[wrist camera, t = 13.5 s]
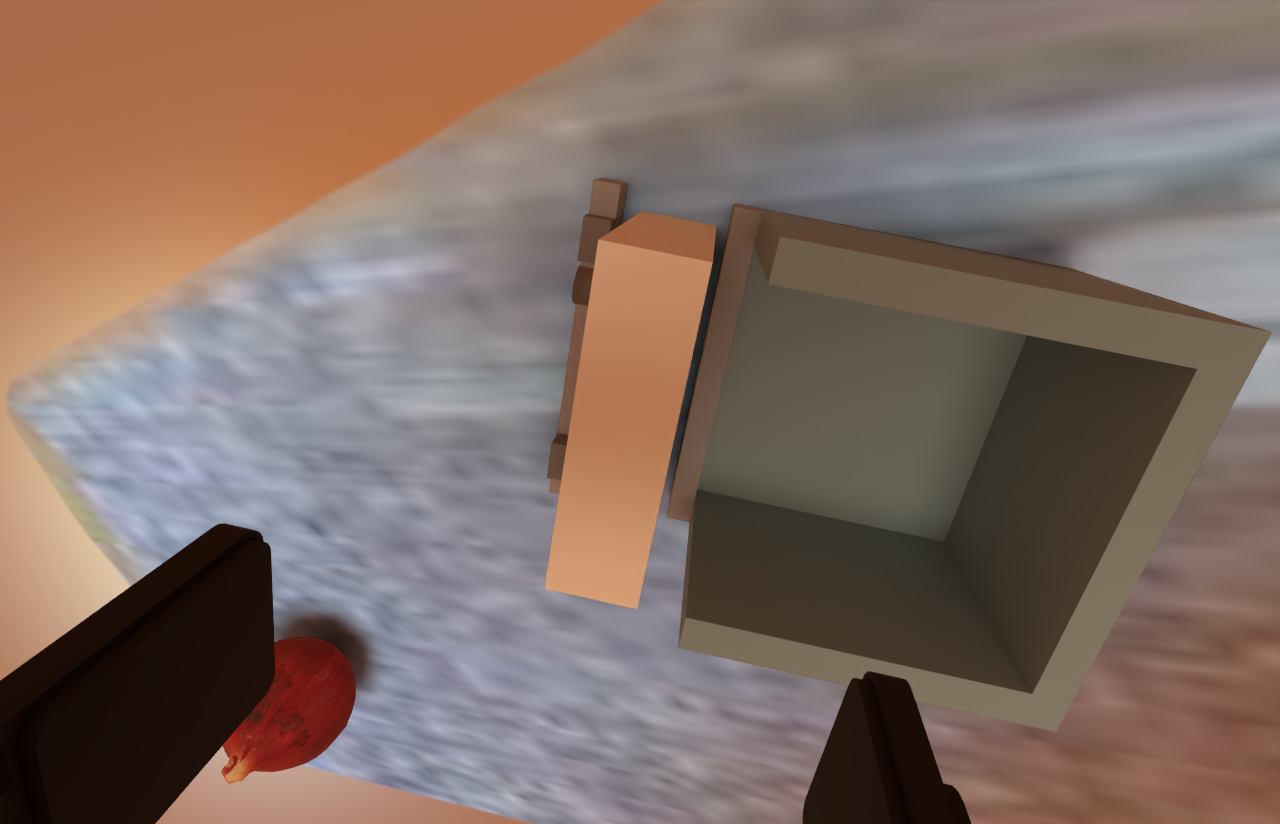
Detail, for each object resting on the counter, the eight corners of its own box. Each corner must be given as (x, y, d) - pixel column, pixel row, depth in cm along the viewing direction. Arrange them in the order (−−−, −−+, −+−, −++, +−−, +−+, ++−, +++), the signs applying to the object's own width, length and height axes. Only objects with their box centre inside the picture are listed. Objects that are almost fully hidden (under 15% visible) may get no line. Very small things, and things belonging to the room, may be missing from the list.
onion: (286, 590, 35) (170, 706, 28) (390, 625, 35) (302, 750, 28) (275, 672, 38) (164, 800, 30) (373, 705, 38) (287, 840, 30)
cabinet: (1071, 268, 26) (1272, 332, 16) (953, 555, 30) (1056, 732, 21) (603, 178, 26) (537, 189, 17) (559, 471, 31) (490, 606, 22)
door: (716, 225, 27) (712, 262, 17) (663, 472, 31) (637, 609, 21) (617, 206, 27) (560, 231, 17) (577, 453, 31) (513, 581, 21)
